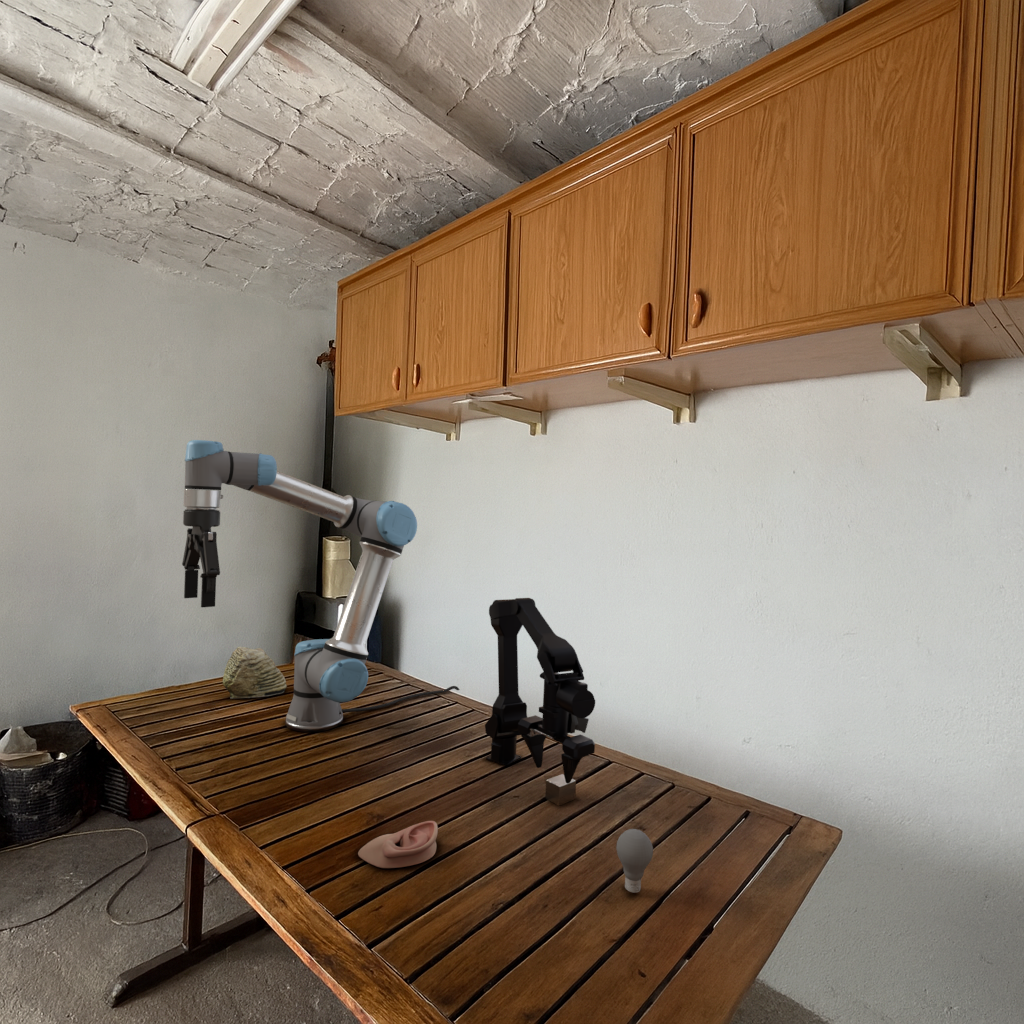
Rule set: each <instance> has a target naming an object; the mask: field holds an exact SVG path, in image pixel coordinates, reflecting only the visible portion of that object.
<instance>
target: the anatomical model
mask: <svg viewBox="0 0 1024 1024" xmlns="http://www.w3.org/2000/svg"><path fill="white" fill-rule="evenodd" d="M438 833H439V826H438V823H437V822H436V821H435V820H426V821H422V822H419V823H416V824H413V825H410V826H408V827H406V828H403V829H401V830H399V831H397V832H394V833H387V834H382V835H380V836H377V837H375V838H373V839H372V840H370V841H368V842H367V843H366V844H365V845H363V846H361V848H360V849H359V850H358V852H357V855H358V857H359V858H360V859H362V860H363V861H365V862H366V863H368V864H370V865H372V866H375V867H377V868H381V869H395V868H404V867H410V866H415V865H418V864H421V863H424V862H426V861H428V860H430V859H431V858H433V857H434V855H435V854H436V852H437V841H436V840H437V838H438Z"/></svg>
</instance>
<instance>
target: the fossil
mask: <svg viewBox="0 0 1024 1024" xmlns="http://www.w3.org/2000/svg"><path fill="white" fill-rule="evenodd" d="M222 676H223V677H222V685H223V687H224V688H225V690H226V691H228V693H229V698H230V699H250V698H264V697H271V696H275V695H281V694H284V693H285V691H286V689H287V687H288V686H287V680H286V678H285V676H284V674H283V673H282V672H281V669H279V668H278V667H277V665H276V663H275V662H274V660H273V659H272V658H271V657H270V656H269V655H268V654H267V653H266V652H265V650H264V649H263V648H260V647H258V648H251V647H247V646H246V647H245V646H238V647H237V648H236V649H235V650H233V651H232V653H231V656H230V657H229V659H228V660H227V663H226V666H225V668H224V671H223V675H222Z"/></svg>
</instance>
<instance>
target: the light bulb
mask: <svg viewBox="0 0 1024 1024" xmlns="http://www.w3.org/2000/svg"><path fill="white" fill-rule="evenodd" d="M615 849H616V854H617V857H618V859H619V861H620V863H621V865H622V867H623V873H624V874H623V875H624V876H625V878H624V888H625V890H627V891H628V892H630V893H634V894H635V893H639V892H640V891H641V889H642V887H641V886H642V879H643V877H644V875H645V871H646V868H647V867H648V866H649V864H650V863H651V861H652V859H653V855H654V847H653V843H652V841H651V838H649V836H648V835H647V834H646V833H645V832H643V831H642V830H641V829H636V828H629V829H627V830H625V831H623V832H622V833H621V834H620V835H619V837H618V839H617V841H616V847H615Z"/></svg>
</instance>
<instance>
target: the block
mask: <svg viewBox="0 0 1024 1024" xmlns="http://www.w3.org/2000/svg"><path fill="white" fill-rule="evenodd" d="M576 789H577V781H576V779H574V778H572V780H571V782H570V783H566V781H565V777H564V773H561V774H559V775H556V776H552V777H550V778H548V779H546V780H545V795H544V798H545V799H546V800H547V801H549V802H551V803H552V804H554V805H556V806H558V807H559V806H562V805H564V804H568V803H569V802H572V801H574V800H576Z"/></svg>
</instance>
